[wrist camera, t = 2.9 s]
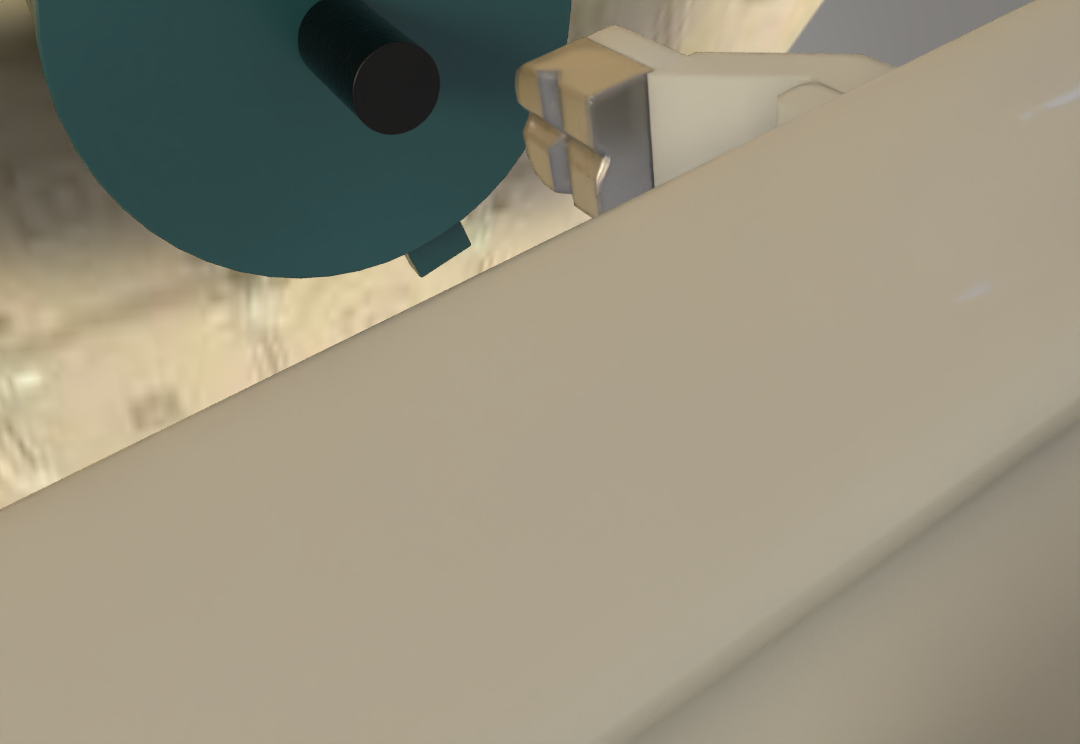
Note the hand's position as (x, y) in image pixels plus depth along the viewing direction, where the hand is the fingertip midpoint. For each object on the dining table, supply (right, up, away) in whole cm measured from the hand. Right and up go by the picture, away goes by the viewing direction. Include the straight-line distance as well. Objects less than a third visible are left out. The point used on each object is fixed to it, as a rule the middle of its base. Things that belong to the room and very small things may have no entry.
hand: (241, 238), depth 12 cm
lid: (-3, +9, +19) cm, 21 cm away
